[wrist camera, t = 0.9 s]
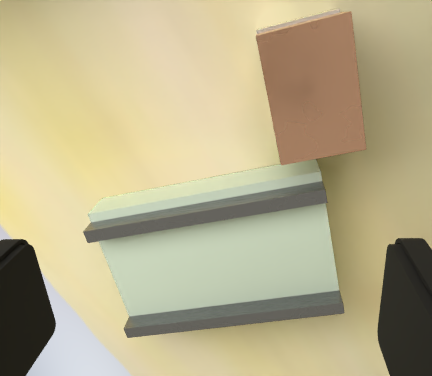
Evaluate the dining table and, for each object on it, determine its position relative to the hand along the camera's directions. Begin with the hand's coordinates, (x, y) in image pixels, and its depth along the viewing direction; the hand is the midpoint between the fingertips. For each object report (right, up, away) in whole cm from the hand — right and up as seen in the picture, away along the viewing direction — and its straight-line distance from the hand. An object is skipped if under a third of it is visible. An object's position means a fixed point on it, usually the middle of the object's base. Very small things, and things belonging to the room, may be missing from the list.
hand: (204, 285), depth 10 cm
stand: (+1, -2, +24) cm, 24 cm away
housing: (+7, +10, +18) cm, 22 cm away
